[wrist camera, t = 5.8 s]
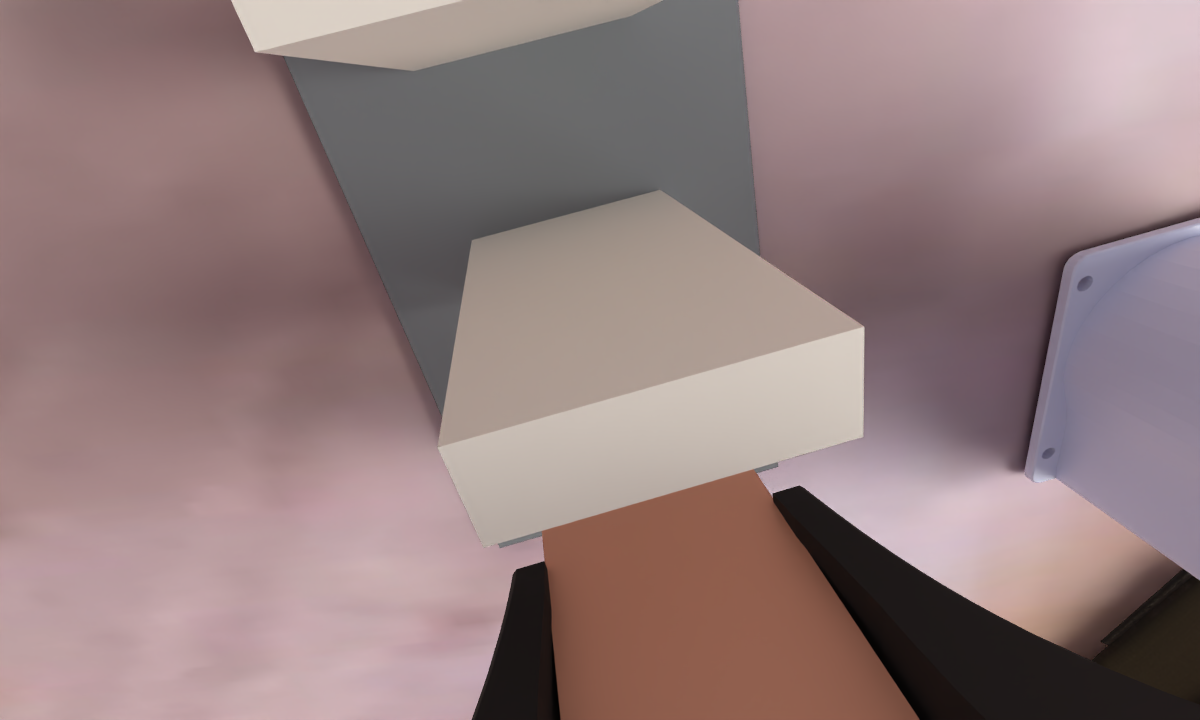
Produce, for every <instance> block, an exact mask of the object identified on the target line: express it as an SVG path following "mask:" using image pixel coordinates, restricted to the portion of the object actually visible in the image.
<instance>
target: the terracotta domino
mask: <svg viewBox="0 0 1200 720" xmlns="http://www.w3.org/2000/svg"><path fill="white" fill-rule="evenodd" d="M542 538H543V548H544V558H545V564H546V567H547V570H548V580H549V590H550V599H551V609H552V638H553V648H554V658H555V668H556V678H557V688H558V698H559V708H560V718H561V720H919V718H918V716H917V715H916V713H915V712H914V710H913V709H912V707H911V706H910V704H909V703H908V701H907V700H906V698H905V697H904V695H903V694H902V692H901V691H900V689H899V688H898V686H897V685H896V683H895V682H894V680H893V679H892V677H891V676H890V674H889V673H888V671H887V670H886V668H885V667H884V665H883V664H882V662H881V661H880V659H879V658H878V656H877V655H876V653H875V652H874V650H873V649H872V647H871V646H870V644H869V643H868V641H867V640H866V638H865V637H864V635H863V633H862V632H861V630H860V629H859V627H858V626H857V624H856V623H855V621H854V620H853V618H852V617H851V615H850V614H849V612H848V611H847V609H846V608H845V606H844V605H843V603H842V602H841V600H840V599H839V597H838V596H837V594H836V593H835V591H834V590H833V588H832V587H831V585H830V584H829V582H828V581H827V579H826V578H825V576H824V575H823V573H822V572H821V570H820V569H819V567H818V566H817V564H816V563H815V561H814V560H813V558H812V557H811V555H810V554H809V552H808V551H807V549H806V548H805V547H804V546H803V544H802V543H801V542H800V541H799V539H798V538H797V537H796V535H795V534H794V532H793V531H792V529H791V528H790V526H789V525H788V523H787V522H786V520H785V519H784V517H783V516H782V514H781V513H780V511H779V510H778V508H777V507H776V505H775V504H774V502H773V498H772V496H771V495H770V493H769V492H768V490H767V489H766V487H765V486H764V484H763V483H762V481H761V480H760V478H759V477H758V475H757V474H756V472H755V470H754V469H752V470H749V471H745V472H742V473H738V474H735V475H732V476H728V477H725V478H721V479H718V480H714V481H711V482H708V483H704V484H701V485H697V486H694V487H691V488H687V489H684V490H680V491H677V492H673V493H670V494H667V495H663V496H660V497H656V498H653V499H649V500H646V501H643V502H639V503H636V504H632V505H629V506H625V507H622V508H619V509H615V510H612V511H608V512H605V513H601V514H598V515H595V516H591V517H588V518H584V519H581V520H578V521H574V522H571V523H567V524H564V525H560V526H557V527H554V528H550V529H547V530H543V531H542Z"/></svg>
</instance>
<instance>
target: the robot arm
mask: <svg viewBox="0 0 1200 720" xmlns="http://www.w3.org/2000/svg"><path fill="white" fill-rule="evenodd" d="M1079 281H1080V282H1079ZM1025 476H1026V477H1027V478H1029V479H1030V480H1031V481H1033V482H1035V483H1039V482H1044V481H1047V480H1051V479H1054V478H1056V479H1058V480H1059V481H1061V482H1062V483H1064V484H1065V485H1066V486H1068V487H1069V488H1071V489H1072V490H1073V491H1075V492H1076V493H1078V494H1079V495H1080V496H1082V497H1083V498H1085V499H1086V500H1087V501H1089V502H1090V503H1092V504H1093V505H1094V506H1096V507H1097V508H1099V509H1100V510H1101V511H1103V512H1104V513H1106V514H1107V515H1108V516H1110V517H1111V518H1113V519H1114V520H1115V521H1117V522H1118V523H1120V524H1121V525H1123V526H1124V527H1125V528H1127V529H1128V530H1130V531H1131V532H1132V533H1134V534H1135V535H1137V536H1138V537H1139V538H1141V539H1142V540H1144V541H1145V542H1146V543H1148V544H1149V545H1151V546H1152V547H1153V548H1155V549H1156V550H1158V551H1159V552H1160V553H1162V554H1163V555H1165V556H1166V557H1167V558H1169V559H1170V560H1172V561H1173V562H1175V563H1176V564H1177V565H1179V566H1180V567H1182V568H1183V569H1184V570H1186V571H1187V572H1189V573H1190V574H1191V575H1193V576H1194V577H1196V578H1197V579H1198V580H1200V218H1196V219H1193V220H1189V221H1186V222H1182V223H1179V224H1175V225H1172V226H1168V227H1164V228H1161V229H1157V230H1154V231H1150V232H1147V233H1143V234H1140V235H1136V236H1133V237H1129V238H1125V239H1122V240H1118V241H1115V242H1111V243H1108V244H1104V245H1101V246H1097V247H1094V248H1090V249H1086V250H1083V251H1080V252H1078V253H1076V254H1074V255H1073V256H1072V257H1071V258H1069V260H1068V261H1067V262H1066V264H1065V266H1064V269H1063V274H1062V280H1061V285H1060V290H1059V295H1058V300H1057V305H1056V311H1055V316H1054V321H1053V326H1052V331H1051V336H1050V342H1049V347H1048V352H1047V357H1046V362H1045V367H1044V373H1043V378H1042V383H1041V388H1040V393H1039V399H1038V404H1037V409H1036V414H1035V419H1034V424H1033V430H1032V435H1031V440H1030V445H1029V450H1028V455H1027V461H1026V466H1025ZM773 502H774V504H775V505H776V507H777V508H778V510H779V511H780V513H781V514H782V516H783V517H784V519H785V520H786V522H787V523H788V525H789V526H790V528H791V529H792V531H793V532H794V534H795V535H796V537H797V538H798V539H799V541H800V542H801V543H802V544H803V546H804V547H805V548H806V549H807V551H808V552H809V554H810V555H811V557H812V558H813V560H814V561H815V563H816V564H817V566H818V567H819V569H820V570H821V572H822V573H823V575H824V576H825V578H826V579H827V581H828V582H829V584H830V585H831V587H832V588H833V590H834V591H835V593H836V594H837V596H838V597H839V599H840V600H841V602H842V603H843V605H844V606H845V608H846V609H847V611H848V612H849V614H850V615H851V617H852V618H853V620H854V621H855V623H856V624H857V626H858V627H859V629H860V630H861V632H862V633H863V635H864V637H865V638H866V640H867V641H868V643H869V644H870V646H871V647H872V649H873V650H874V652H875V653H876V655H877V656H878V658H879V659H880V661H881V662H882V664H883V665H884V667H885V668H886V670H887V671H888V673H889V674H890V676H891V677H892V679H893V680H894V682H895V683H896V685H897V686H898V688H899V689H900V691H901V692H902V694H903V695H904V697H905V698H906V700H907V701H908V703H909V704H910V706H911V707H912V709H913V710H914V712H915V713H916V715H917V716H918V718H919V720H1200V705H1199V704H1196V703H1194V702H1191V701H1188V700H1185V699H1183V698H1180V697H1177V696H1175V695H1172V694H1169V693H1167V692H1164V691H1162V690H1159V689H1157V688H1154V687H1152V686H1149V685H1147V684H1145V683H1142V682H1140V681H1137V680H1135V679H1132V678H1130V677H1128V676H1125V675H1123V674H1120V673H1118V672H1115V671H1113V670H1111V669H1108V668H1106V667H1104V666H1101V665H1099V664H1097V663H1095V662H1093V661H1091V660H1088V659H1086V658H1084V657H1082V656H1080V655H1077V654H1075V653H1073V652H1071V651H1069V650H1067V649H1064V648H1062V647H1060V646H1058V645H1056V644H1054V643H1051V642H1049V641H1047V640H1045V639H1043V638H1041V637H1038V636H1036V635H1034V634H1032V633H1030V632H1028V631H1026V630H1024V629H1022V628H1021V627H1019V626H1017V625H1015V624H1013V623H1011V622H1009V621H1007V620H1005V619H1003V618H1001V617H999V616H997V615H995V614H994V613H992V612H990V611H988V610H986V609H984V608H983V607H981V606H979V605H977V604H975V603H973V602H972V601H970V600H968V599H966V598H964V597H963V596H961V595H959V594H958V593H956V592H954V591H952V590H951V589H949V588H947V587H946V586H944V585H942V584H941V583H939V582H937V581H936V580H934V579H933V578H931V577H929V576H928V575H926V574H925V573H923V572H921V571H920V570H918V569H916V568H915V567H913V566H912V565H910V564H909V563H907V562H906V561H904V560H903V559H901V558H900V557H898V556H897V555H895V554H894V553H892V552H891V551H889V550H888V549H886V548H885V547H883V546H882V545H880V544H879V543H878V542H876V541H875V540H873V539H872V538H870V537H869V536H867V535H866V534H865V533H863V532H862V531H860V530H859V529H858V528H856V527H855V526H853V525H852V524H851V523H849V522H848V521H847V520H845V519H844V518H843V517H841V516H840V515H838V514H837V513H836V512H835V511H833V510H832V509H831V508H829V507H828V506H827V505H825V504H824V503H823V502H821V501H820V500H819V499H817V498H816V497H815V496H814V495H812V494H811V493H810V492H808V491H807V490H806V489H805V488H803V487H801V486H796V487H793V488H790V489H786V490H783V491H780V492H776V493H773ZM472 720H561V718H560V708H559V698H558V688H557V678H556V668H555V658H554V648H553V638H552V609H551V599H550V590H549V580H548V570H547V567H546V564H545V561H543V562H540V563H537V564H533V565H530V566H527V567H523V568H520V569H517V570H516V571H515V572H514V574H513V577H512V583H511V588H510V593H509V598H508V602H507V606H506V611H505V615H504V619H503V623H502V626H501V630H500V634H499V638H498V641H497V644H496V648H495V651H494V654H493V658H492V661H491V665H490V668H489V671H488V674H487V678H486V681H485V684H484V686H483V689H482V692H481V695H480V698H479V701H478V703H477V706H476V709H475V712H474V715H473V718H472Z"/></svg>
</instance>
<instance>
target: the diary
mask: <svg viewBox="0 0 1200 720" xmlns="http://www.w3.org/2000/svg"><path fill="white" fill-rule="evenodd" d="M1101 642H1102V643H1105V644H1107V645H1109V646H1108V647H1107V648H1105V649H1104V650H1103V651H1102V652H1101V653H1100V654H1099V655H1097V656H1096V657H1095V658H1094V659H1093V660H1092V661H1093V662H1095V663H1097V664H1099V665H1101V666H1104V667H1106V668H1108V669H1111V670H1113V671H1115V672H1118V673H1120V674H1123V675H1125V676H1128V677H1130V678H1132V679H1135V680H1137V681H1140V682H1142V683H1145V684H1147V685H1149V686H1152V687H1154V688H1157V689H1159V690H1162V691H1164V692H1167V693H1169V694H1172V695H1175V696H1177V697H1180V698H1183V699H1185V700H1188V701H1191V702H1194V703H1196V704H1199V705H1200V580H1198V579H1197V578H1196V577H1194V576H1193V575H1191V574H1190V573H1189V572H1187V571H1186V570H1184V569H1182V570H1181V571H1180V572H1179V573H1178V574H1177V575H1176V576H1174V577H1173V578H1172V579H1171V580H1170V581H1169V582H1168V583H1166V584H1165V585H1164V586H1163V587H1162V588H1161V589H1160V590H1159V591H1157V592H1156V593H1155V594H1154V595H1153V596H1152V597H1151V598H1149V599H1148V600H1147V601H1146V602H1145V603H1144V604H1143V605H1142V606H1140V607H1139V608H1138V609H1137V610H1136V611H1135V612H1134V613H1132V614H1131V615H1130V616H1129V617H1128V618H1127V619H1126V620H1125V621H1123V622H1122V623H1121V624H1120V625H1119V626H1118V627H1117V628H1115V629H1114V630H1113V631H1112V632H1111V633H1110V634H1109V635H1108V636H1106V637H1105V638H1104V639H1103V640H1102V641H1101Z"/></svg>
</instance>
